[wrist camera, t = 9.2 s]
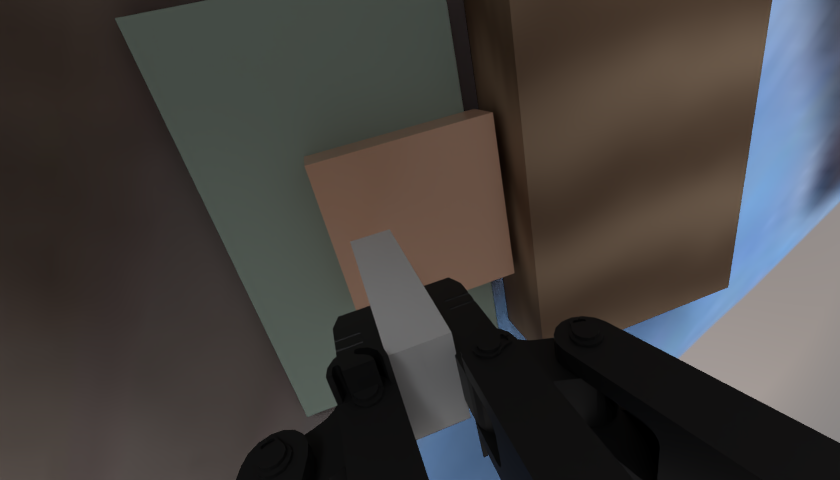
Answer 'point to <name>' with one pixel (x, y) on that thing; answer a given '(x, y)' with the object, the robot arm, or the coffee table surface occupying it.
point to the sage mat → (291, 136)
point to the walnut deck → (618, 148)
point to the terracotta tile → (420, 199)
